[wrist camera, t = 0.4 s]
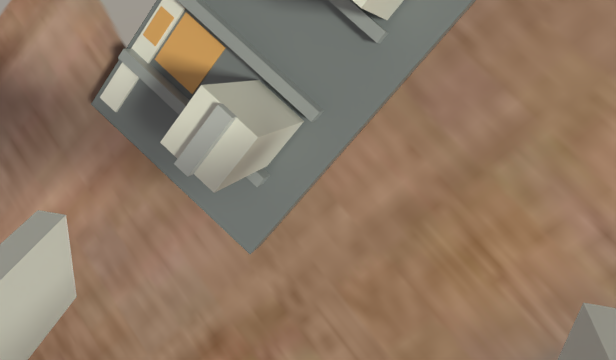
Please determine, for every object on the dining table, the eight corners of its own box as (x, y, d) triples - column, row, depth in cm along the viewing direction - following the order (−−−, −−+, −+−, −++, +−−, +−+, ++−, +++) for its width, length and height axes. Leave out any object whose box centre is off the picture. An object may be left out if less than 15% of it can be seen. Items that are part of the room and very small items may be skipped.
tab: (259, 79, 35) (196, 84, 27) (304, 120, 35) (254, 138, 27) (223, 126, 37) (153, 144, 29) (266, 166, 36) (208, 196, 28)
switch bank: (341, -259, 32) (328, -291, 29) (550, -85, 31) (558, -101, 28) (108, 102, 42) (79, 105, 39) (260, 245, 41) (243, 260, 38)
